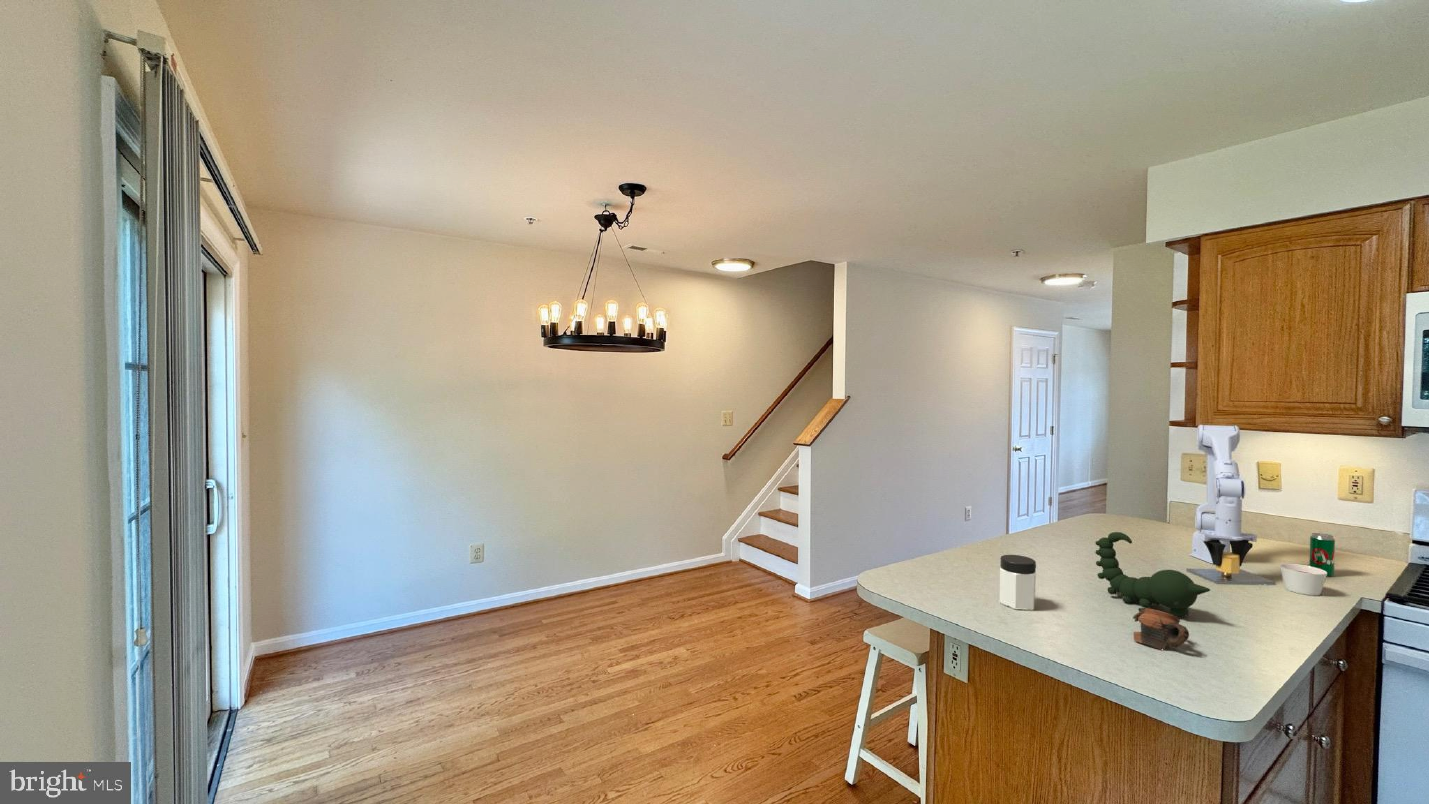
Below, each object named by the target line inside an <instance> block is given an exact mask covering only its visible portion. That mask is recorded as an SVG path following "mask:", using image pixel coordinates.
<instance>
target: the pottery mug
mask: <svg viewBox="0 0 1429 804" xmlns="http://www.w3.org/2000/svg"><path fill="white" fill-rule="evenodd" d="M1137 610H1138V613H1136V614H1134V615H1133V616H1132V619H1133V620H1134V622H1139V623H1140V631H1133V641H1134V640H1135V641H1136V642H1135V641H1134V642H1135V643H1138V642H1139V644H1143V645H1147V646H1149V647H1151V648H1155V649H1158V650H1161V649H1163V650H1162V651H1165V648H1166V646H1167V644H1168V646H1169V647H1170V648H1172V649H1174V648H1178V647H1179V646H1181V645H1183V644H1185V643H1186V642H1187V641H1188V640H1189V638H1190V632H1189V630H1188V628H1187V627H1186V626H1185V625H1182V624H1180V622H1181V619H1180V618H1178V617H1175V616H1173V615H1172V614H1171V613H1168V612H1164V611H1161V610H1157V609H1153V608H1144V607H1139V608H1137Z"/></svg>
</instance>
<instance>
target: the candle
mask: <svg viewBox="0 0 1429 804" xmlns="http://www.w3.org/2000/svg"><path fill="white" fill-rule="evenodd" d="M1279 568H1280V572H1281V577H1282V582H1283V586H1284V588H1285V589H1286V590H1287V591H1289V592H1292V591H1293V593H1295V592H1296V594H1300V595H1304V594H1305V596H1320V595H1321V594H1322V592H1323V588H1324V585H1325V582H1326V579H1327V577H1326V576H1327V572H1326V571H1324V570H1322V569H1319V568H1315V567H1311V566H1309V565H1306V564H1305V565H1304V564H1299V563H1298V564H1296V563H1281V564H1279Z"/></svg>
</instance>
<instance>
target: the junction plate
mask: <svg viewBox="0 0 1429 804" xmlns="http://www.w3.org/2000/svg"><path fill="white" fill-rule="evenodd" d="M1185 571H1186V572H1187V573H1190V574H1192V575H1194V576H1197V577H1199V578H1202V579H1203V580H1207V581H1208V580H1209V582H1211V583H1213V582H1214V583H1213V584H1216V585H1255V586H1256V585H1257V586H1258V585H1259V584H1260V585H1261V586H1262V585H1263V586H1264V584H1266V586H1275V585H1276V581H1274V580H1271V579H1268V578H1265V577H1263V576H1260V575H1258V574H1255V573H1253V572H1249V571H1246V570H1244V569H1242V568H1241V569H1239V573H1238V574H1237V573H1226V572H1221V571H1219V570H1216V569H1215V568H1186V570H1185ZM1260 585H1259V586H1260Z"/></svg>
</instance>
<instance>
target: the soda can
mask: <svg viewBox="0 0 1429 804" xmlns="http://www.w3.org/2000/svg"><path fill="white" fill-rule="evenodd" d="M1335 544H1336V539H1335V538H1334V536H1333V535H1331V534H1328V533H1322V532H1321V533H1320V532H1312V533H1311V535H1310V536H1309V562H1308V564H1309V565H1308V566H1311V567H1315V568H1319V569H1322V570H1324V571H1326V572H1327V576H1328V577H1333V576H1334V575H1335V556H1336V555H1335V554H1336V553H1335V552H1336V550H1335V549H1336V545H1335ZM1328 577H1327V578H1328Z"/></svg>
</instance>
